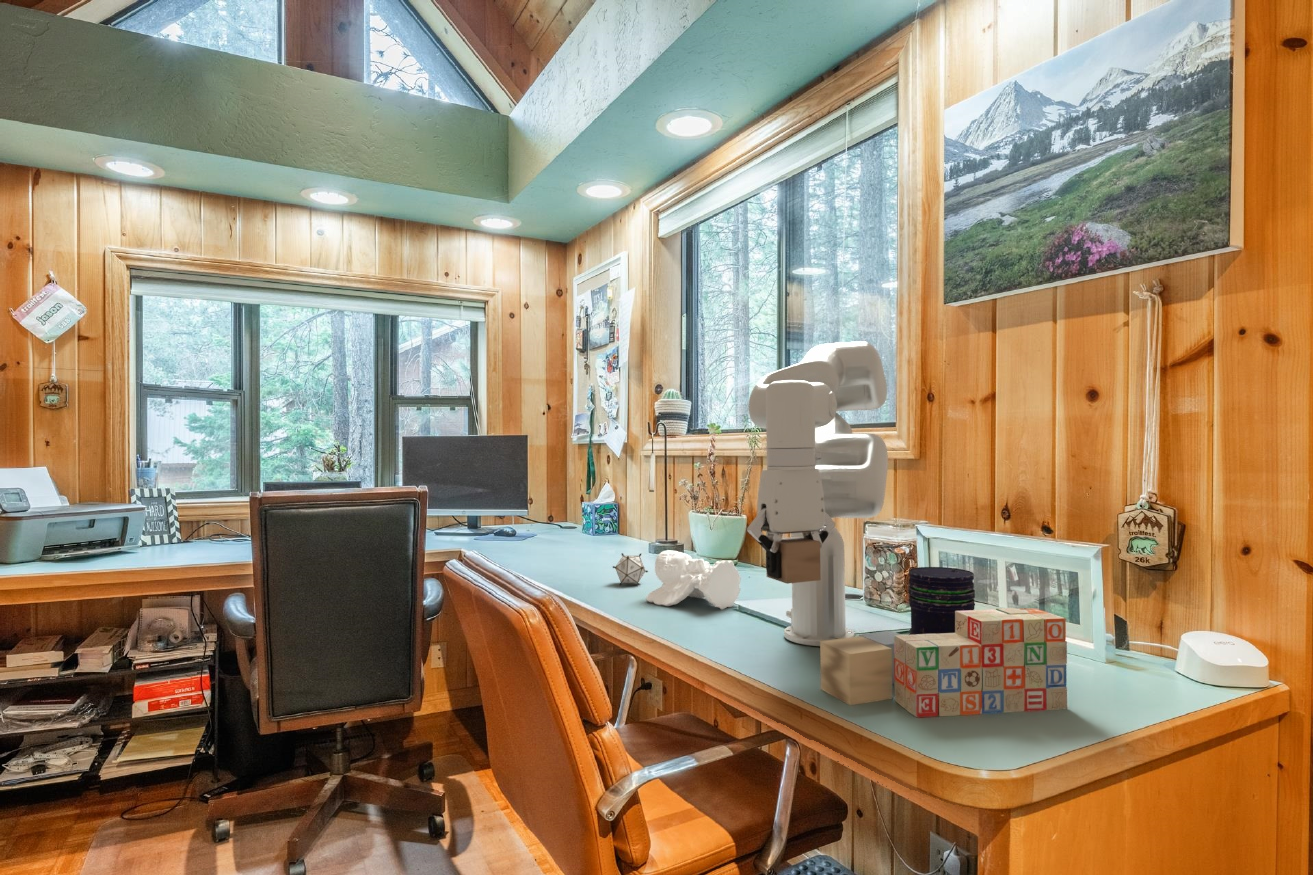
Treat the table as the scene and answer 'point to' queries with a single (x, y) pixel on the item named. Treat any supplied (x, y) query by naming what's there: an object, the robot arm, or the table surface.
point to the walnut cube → (799, 560)
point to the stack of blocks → (984, 665)
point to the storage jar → (938, 598)
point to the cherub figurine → (694, 580)
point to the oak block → (856, 670)
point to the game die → (630, 569)
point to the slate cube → (884, 643)
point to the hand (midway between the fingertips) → (792, 574)
